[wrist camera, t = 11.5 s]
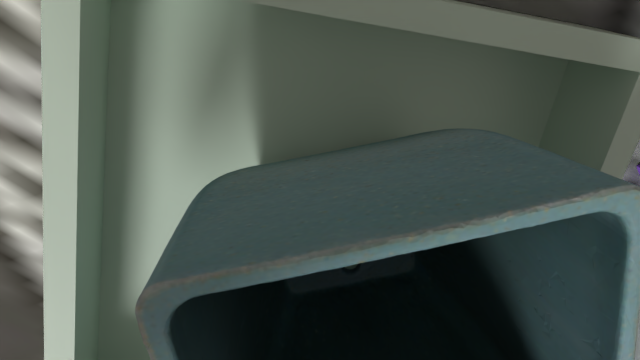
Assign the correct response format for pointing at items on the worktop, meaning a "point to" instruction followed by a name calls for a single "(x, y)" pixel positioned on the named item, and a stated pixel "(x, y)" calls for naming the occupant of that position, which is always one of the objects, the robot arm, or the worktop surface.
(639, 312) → the robot arm
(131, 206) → the pale green square tray
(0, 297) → the worktop surface
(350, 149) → the flower pot
